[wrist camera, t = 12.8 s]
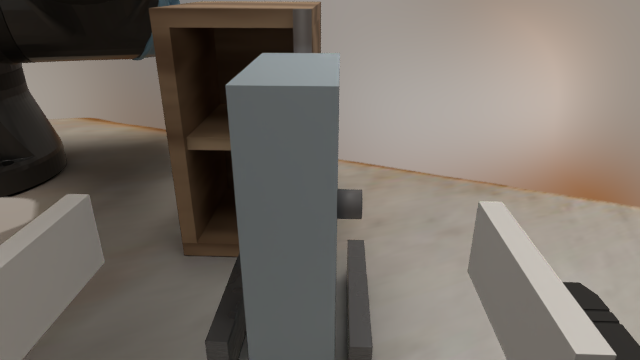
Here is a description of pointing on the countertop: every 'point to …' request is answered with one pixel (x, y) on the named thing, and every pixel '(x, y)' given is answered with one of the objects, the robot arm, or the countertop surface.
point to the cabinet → (215, 100)
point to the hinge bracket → (232, 322)
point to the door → (288, 201)
